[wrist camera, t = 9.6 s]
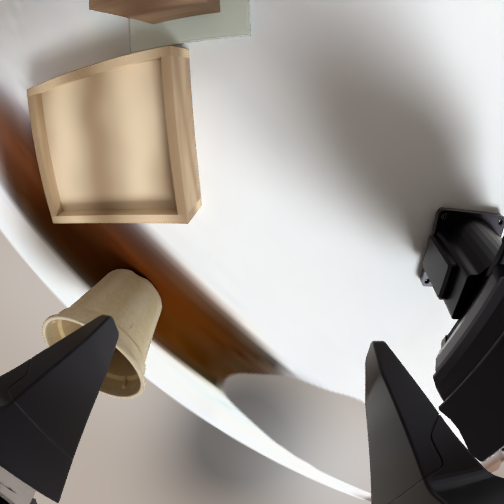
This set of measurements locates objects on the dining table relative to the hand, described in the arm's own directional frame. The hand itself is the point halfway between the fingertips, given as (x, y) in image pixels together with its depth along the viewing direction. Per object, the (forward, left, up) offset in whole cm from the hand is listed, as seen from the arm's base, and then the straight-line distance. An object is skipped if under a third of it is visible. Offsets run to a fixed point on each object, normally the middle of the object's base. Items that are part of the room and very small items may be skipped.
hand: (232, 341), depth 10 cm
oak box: (+11, -5, -13) cm, 18 cm away
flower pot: (+13, +10, -13) cm, 21 cm away
